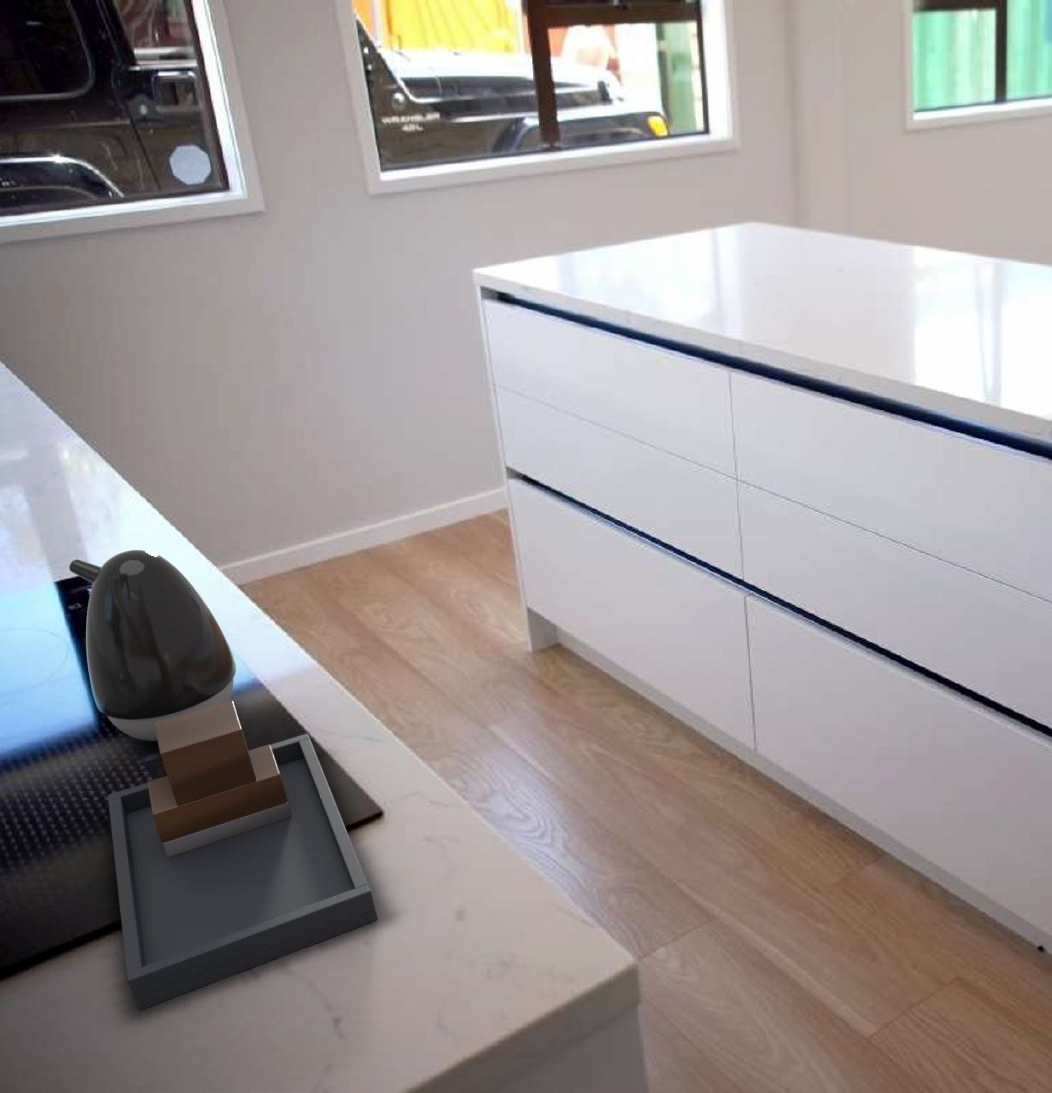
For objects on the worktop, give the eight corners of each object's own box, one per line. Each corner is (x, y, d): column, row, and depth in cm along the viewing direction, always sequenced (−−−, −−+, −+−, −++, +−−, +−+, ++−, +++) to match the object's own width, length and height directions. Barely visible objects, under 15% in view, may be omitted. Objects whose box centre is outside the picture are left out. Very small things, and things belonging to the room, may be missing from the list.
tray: (378, 919, 78) (370, 890, 77) (138, 1010, 72) (127, 980, 71) (314, 758, 95) (307, 732, 94) (116, 820, 89) (107, 794, 88)
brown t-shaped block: (292, 816, 87) (265, 721, 84) (167, 858, 83) (134, 761, 80) (281, 785, 90) (255, 693, 87) (161, 823, 87) (129, 729, 84)
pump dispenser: (165, 686, 106) (113, 524, 100) (272, 694, 104) (227, 528, 98) (77, 754, 97) (15, 579, 91) (193, 763, 95) (138, 585, 89)
